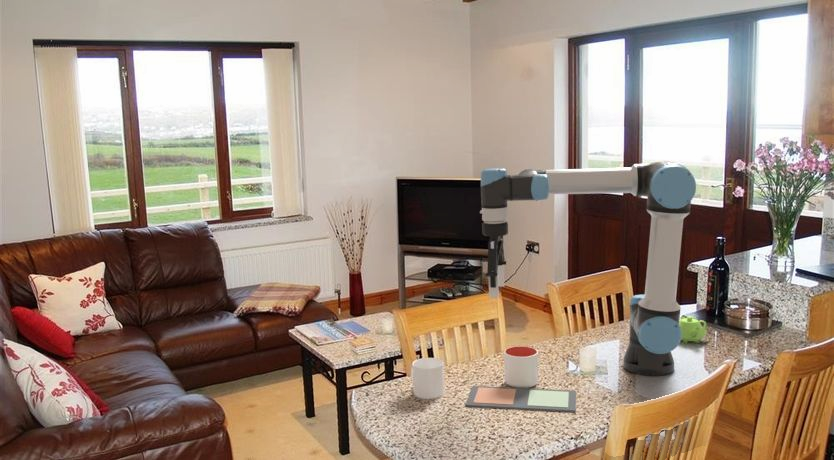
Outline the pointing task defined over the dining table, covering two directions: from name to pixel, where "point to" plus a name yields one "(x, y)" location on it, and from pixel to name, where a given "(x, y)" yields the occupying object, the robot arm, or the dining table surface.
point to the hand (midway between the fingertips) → (497, 292)
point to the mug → (428, 378)
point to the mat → (522, 398)
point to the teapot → (692, 329)
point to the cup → (521, 366)
